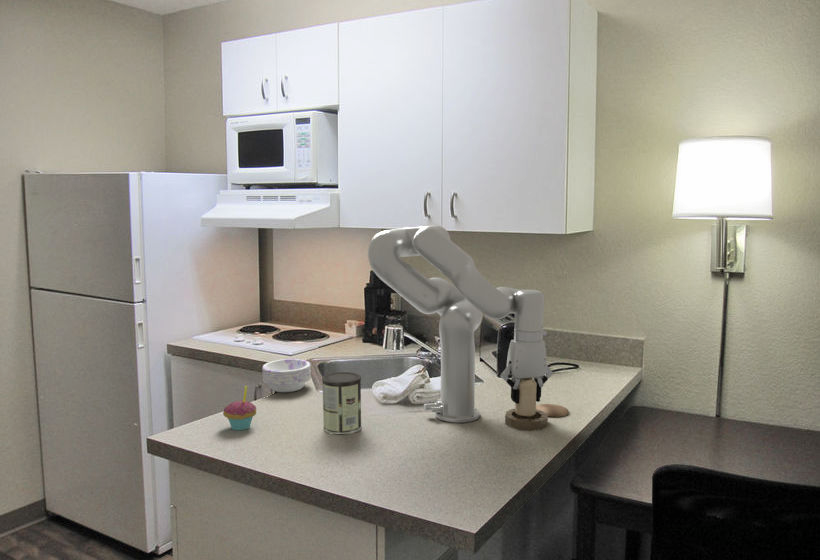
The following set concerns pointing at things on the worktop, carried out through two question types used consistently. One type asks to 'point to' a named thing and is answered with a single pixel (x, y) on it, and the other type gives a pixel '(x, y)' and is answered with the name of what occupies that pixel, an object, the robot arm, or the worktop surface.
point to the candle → (526, 397)
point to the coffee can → (342, 403)
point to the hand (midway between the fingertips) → (525, 400)
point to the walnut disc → (553, 410)
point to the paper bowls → (286, 374)
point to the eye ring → (529, 425)
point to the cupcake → (240, 413)
